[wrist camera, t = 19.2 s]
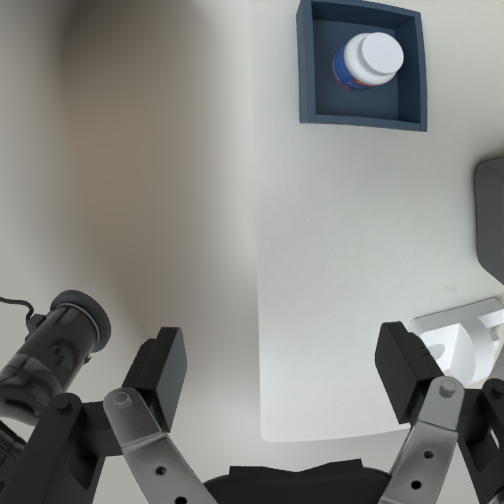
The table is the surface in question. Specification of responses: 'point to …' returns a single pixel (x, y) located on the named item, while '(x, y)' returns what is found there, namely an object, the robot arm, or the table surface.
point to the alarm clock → (490, 216)
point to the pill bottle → (366, 61)
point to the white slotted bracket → (462, 338)
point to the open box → (372, 99)
